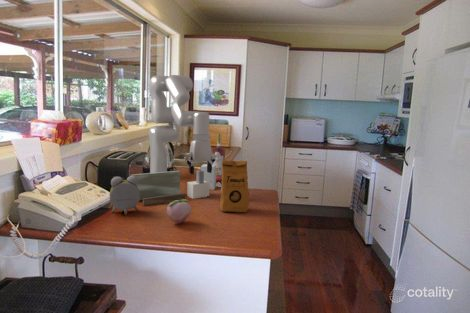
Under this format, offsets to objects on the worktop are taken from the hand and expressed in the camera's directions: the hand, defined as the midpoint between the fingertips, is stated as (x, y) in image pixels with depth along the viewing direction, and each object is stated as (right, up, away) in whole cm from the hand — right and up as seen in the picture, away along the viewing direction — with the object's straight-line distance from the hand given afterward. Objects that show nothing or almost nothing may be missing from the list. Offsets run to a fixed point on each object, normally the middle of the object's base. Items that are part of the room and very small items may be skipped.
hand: (200, 173), depth 168 cm
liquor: (+7, -7, +38) cm, 39 cm away
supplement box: (+2, -9, +20) cm, 23 cm away
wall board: (-18, -12, -6) cm, 23 cm away
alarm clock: (-28, -15, -26) cm, 41 cm away
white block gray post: (-2, -12, +3) cm, 12 cm away
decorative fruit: (-5, -17, -37) cm, 41 cm away
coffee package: (+16, -15, -18) cm, 29 cm away
